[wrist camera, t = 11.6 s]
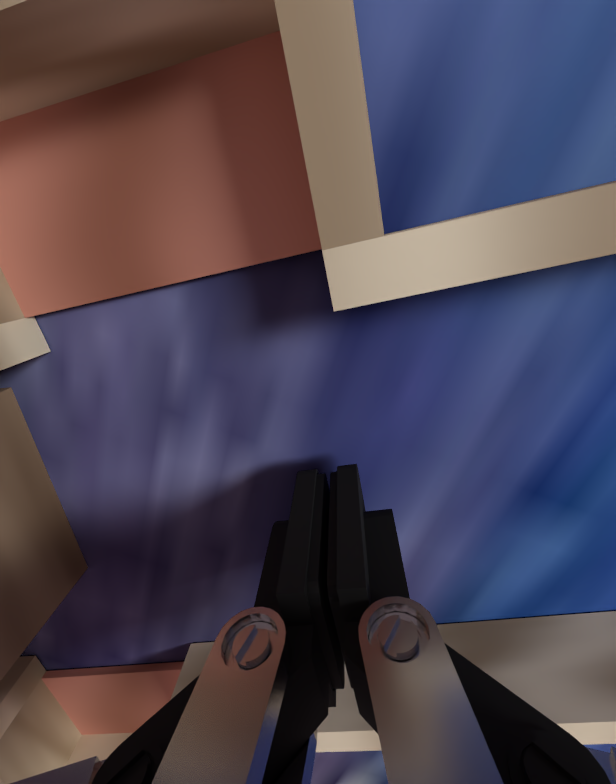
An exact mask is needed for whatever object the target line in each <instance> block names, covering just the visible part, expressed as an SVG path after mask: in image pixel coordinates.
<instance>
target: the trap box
mask: <svg viewBox="0 0 616 784" xmlns="http://www.w3.org/2000/svg"><path fill="white" fill-rule="evenodd" d="M320 249H322V253H323V258H324V263H325V268H326V274H327V279H328V284H329V289H330V294H331V300H332V305H333V310H334V311H339V310H344V309H349V308H354V307H359V306H364V305H368V304H373V303H378V302H383V301H388V300H393V299H398V298H402V297H407V296H412V295H417V294H422V293H427V292H432V291H436V290H441V289H446V288H451V287H456V286H461V285H466V284H470V283H475V282H480V281H485V280H490V279H495V278H500V277H504V276H509V275H514V274H519V273H524V272H529V271H534V270H538V269H543V268H548V267H553V266H558V265H563V264H568V263H572V262H577V261H582V260H587V259H592V258H597V257H602V256H606V255H611V254H616V181H613V182H608V183H604V184H600V185H595V186H591V187H587V188H582V189H578V190H574V191H569V192H565V193H561V194H557V195H552V196H548V197H544V198H539V199H535V200H531V201H526V202H522V203H518V204H514V205H509V206H505V207H501V208H496V209H492V210H488V211H483V212H479V213H475V214H470V215H466V216H462V217H458V218H453V219H449V220H445V221H440V222H436V223H432V224H427V225H423V226H419V227H414V228H410V229H406V230H402V231H397V232H393V233H389V234H384V230H383V223H382V215H381V208H380V200H379V193H378V185H377V178H376V170H375V163H374V155H373V148H372V140H371V133H370V126H369V118H368V111H367V103H366V96H365V88H364V81H363V73H362V66H361V58H360V51H359V43H358V36H357V28H356V21H355V13H354V6H353V0H0V371H1V370H3V369H6V368H9V367H11V366H14V365H16V364H19V363H22V362H24V361H27V360H30V359H32V358H35V357H37V356H40V355H43V354H45V353H48V352H51V351H50V349H49V347H48V344H47V342H46V340H45V338H44V336H43V334H42V332H41V330H40V328H39V326H38V324H37V321H36V319H35V317H34V316H36V315H40V314H45V313H49V312H53V311H57V310H62V309H66V308H70V307H75V306H79V305H83V304H88V303H92V302H96V301H101V300H105V299H109V298H113V297H118V296H122V295H126V294H131V293H135V292H139V291H144V290H148V289H152V288H157V287H161V286H165V285H169V284H174V283H178V282H182V281H187V280H191V279H195V278H200V277H204V276H208V275H213V274H217V273H221V272H225V271H230V270H234V269H238V268H243V267H247V266H251V265H256V264H260V263H264V262H269V261H273V260H277V259H281V258H286V257H290V256H294V255H299V254H303V253H307V252H312V251H316V250H320ZM437 627H438V629H439V632H440V634H441V636H442V639H443V641H444V643H446V644H447V645H448V646H450V647H451V648H452V649H454V650H455V651H457V652H458V653H459V654H461V655H462V656H463V657H465V658H466V659H468V660H469V661H470V662H472V663H473V664H474V665H476V666H477V667H479V668H480V669H481V670H483V671H484V672H485V673H487V674H488V675H490V676H491V677H492V678H494V679H495V680H496V681H498V682H499V683H501V684H502V685H503V686H505V687H506V688H508V689H509V690H510V691H512V692H513V693H514V694H516V695H517V696H519V697H520V698H521V699H523V700H524V701H525V702H527V703H528V704H530V705H531V706H532V707H534V708H535V709H536V710H538V711H539V712H541V713H542V714H543V715H545V716H546V717H547V718H549V719H550V720H552V721H553V722H554V723H556V724H557V725H558V726H560V727H561V728H563V729H564V730H565V731H567V732H568V733H570V734H571V735H572V736H573V737H574V738H576V739H577V740H578V741H579V742H580V743H581V744H616V611H609V612H596V613H583V614H570V615H557V616H544V617H531V618H518V619H505V620H492V621H479V622H466V623H453V624H440V625H437ZM213 645H214V642H206V643H192V644H190V647H189V650H188V653H187V655H186V658H185V661H184V662H170V663H156V664H142V665H127V666H113V667H98V668H84V669H69V670H55V671H46V670H45V668H44V667H43V666H42V664H41V663H40V661H39V660H38V659H37V657H36V656H23V657H19V658H18V659H17V660H16V662H15V663H14V664H13V666H12V667H11V668H10V669H9V671H8V672H7V673H6V675H5V676H4V677H3V679H2V680H1V681H0V784H10V783H13V782H16V781H19V780H22V779H26V778H29V777H32V776H35V775H38V774H41V773H44V772H47V771H51V770H54V769H57V768H60V767H63V766H66V765H69V764H73V763H76V762H79V761H82V760H85V759H88V758H91V757H94V756H97V757H98V758H99V760H100V761H102V760H105V759H107V757H108V756H109V755H110V754H111V753H112V752H113V751H114V750H115V749H116V748H117V747H118V746H119V745H120V744H121V743H122V742H123V741H125V740H126V739H127V738H128V737H129V736H130V735H131V734H132V733H134V732H135V731H136V730H137V729H138V728H139V727H140V726H142V725H143V724H144V723H145V722H146V721H147V720H148V719H150V718H151V717H152V716H153V715H154V714H155V713H156V712H158V711H159V710H160V709H161V708H162V707H163V706H164V705H166V704H167V703H168V702H169V701H170V700H171V699H172V698H173V697H175V696H176V695H177V694H178V693H179V692H180V691H181V690H183V689H184V688H185V687H186V686H187V685H188V684H189V683H191V682H192V681H193V680H194V679H195V678H196V677H197V676H199V675H200V674H201V672H202V669H203V667H204V665H205V663H206V660H207V658H208V656H209V654H210V651H211V649H212V647H213ZM344 670H345V685H344V689H336V707H328V716H327V717H326V718H325V720H324V721H323V722H322V723H321V724H320V726H319V727H318V728H317V746H316V752H340V751H374V750H382V749H381V744H380V740H379V735H378V734H377V733H376V731H375V730H374V729H373V728H372V727H371V726H370V725H369V724H368V723H367V722H366V721H365V719H364V718H363V717H362V716H361V715H360V714H359V710H358V706H357V702H356V698H355V694H354V690H353V688H351V686H350V682H349V678H348V674H347V670H346V666H345V662H344Z"/></svg>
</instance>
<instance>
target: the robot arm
mask: <svg viewBox="0 0 616 784" xmlns="http://www.w3.org/2000/svg"><path fill="white" fill-rule="evenodd" d="M344 662H345V666H346V670H347V674H348V678H349V682H350V686H351V688H353V690H354V694H355V698H356V702H357V706H358V710H359V714H360V715H361V716H362V717H363V718H364V719H365V721H366V722H367V723H368V724H369V725H370V726H371V727H372V728H373V729H374V730H375V731H376V733H377V734H378V735H379V740H380V744H381V749H382V754H383V759H384V764H385V769H386V774H387V779H388V784H616V748H615V747H611V752H610V753H608V752H604V751H599V750H595V749H591V748H587V747H585V746H583V745H582V744H581V743H580V742H579V741H578V740H577V739H576V738H574V737H573V736H572V735H571V734H570V733H568V732H567V731H565V730H564V729H563V728H561V727H560V726H558V725H557V724H556V723H554V722H553V721H552V720H550V719H549V718H547V717H546V716H545V715H543V714H542V713H541V712H539V711H538V710H536V709H535V708H534V707H532V706H531V705H530V704H528V703H527V702H525V701H524V700H523V699H521V698H520V697H519V696H517V695H516V694H514V693H513V692H512V691H510V690H509V689H508V688H506V687H505V686H503V685H502V684H501V683H499V682H498V681H496V680H495V679H494V678H492V677H491V676H490V675H488V674H487V673H485V672H484V671H483V670H481V669H480V668H479V667H477V666H476V665H474V664H473V663H472V662H470V661H469V660H468V659H466V658H465V657H463V656H462V655H461V654H459V653H458V652H457V651H455V650H454V649H452V648H451V647H450V646H448V645H447V644H446V643H444V641H443V639H442V636H441V634H440V632H439V629H438V627H437V624H436V622H435V621H434V619H433V617H432V616H431V614H430V612H429V611H427V610H426V609H425V608H424V607H423V606H422V605H421V604H419V603H417V602H415V601H413V600H411V599H410V598H409V593H408V587H407V582H406V577H405V572H404V567H403V562H402V557H401V552H400V547H399V542H398V537H397V532H396V527H395V522H394V517H393V512H392V509H386V510H377V511H368V512H366V511H365V506H364V500H363V495H362V489H361V484H360V478H359V473H358V467H357V464H352V465H344V466H338V467H337V472H331V474H330V491H329V486H328V482H327V477H326V474H325V473H323V474H319V472H318V470H317V469H313V470H305V471H298V473H297V478H296V483H295V489H294V495H293V500H292V506H291V512H290V517H289V520H286V521H277V522H275V523H274V524H273V527H272V531H271V536H270V540H269V544H268V549H267V553H266V557H265V562H264V566H263V570H262V575H261V579H260V583H259V588H258V592H257V596H256V601H255V605H254V607H252V608H249V609H246V610H243V611H241V612H240V613H238V614H236V615H235V616H233V617H232V618H231V619H230V620H229V621H228V622H227V623H226V624H225V625H224V626H223V628H222V629H221V631H220V633H219V634H218V636H217V638H216V640H215V642H214V645H213V647H212V649H211V651H210V654H209V656H208V658H207V660H206V663H205V665H204V667H203V669H202V672H201V674H200V675H199V676H197V677H196V678H195V679H194V680H193V681H192V682H191V683H189V684H188V685H187V686H186V687H185V688H184V689H183V690H181V691H180V692H179V693H178V694H177V695H176V696H175V697H173V698H172V699H171V700H170V701H169V702H168V703H167V704H166V705H164V706H163V707H162V708H161V709H160V710H159V711H158V712H156V713H155V714H154V715H153V716H152V717H151V718H150V719H148V720H147V721H146V722H145V723H144V724H143V725H142V726H140V727H139V728H138V729H137V730H136V731H135V732H134V733H132V734H131V735H130V736H129V737H128V738H127V739H126V740H125V741H123V742H122V743H121V744H120V745H119V746H118V747H117V748H116V749H115V750H114V751H113V752H112V753H111V754H110V755H109V756H108V757H107V759H105V760H102V761H100V760H99V758H98V757H97V756H94V757H91V758H88V759H85V760H82V761H79V762H76V763H73V764H69V765H66V766H63V767H60V768H57V769H54V770H51V771H47V772H44V773H41V774H38V775H35V776H32V777H29V778H26V779H22V780H19V781H16V782H13V783H10V784H310V783H311V777H312V771H313V765H314V758H315V752H316V746H317V728H318V727H319V726H320V724H321V723H322V722H323V721H324V720H325V718H326V717H327V716H328V707H336V689H344V685H345V670H344Z"/></svg>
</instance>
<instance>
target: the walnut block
mask: <svg viewBox="0 0 616 784" xmlns="http://www.w3.org/2000/svg"><path fill="white" fill-rule="evenodd" d="M87 568H88V566H87V564H86V562H85V559H84V557H83V555H82V552H81V550H80V548H79V545H78V543H77V541H76V538H75V536H74V534H73V531H72V529H71V526H70V524H69V522H68V519H67V517H66V515H65V512H64V510H63V508H62V505H61V503H60V501H59V498H58V496H57V494H56V491H55V489H54V487H53V484H52V482H51V480H50V477H49V475H48V473H47V470H46V468H45V466H44V463H43V461H42V459H41V456H40V454H39V452H38V449H37V447H36V445H35V442H34V440H33V438H32V435H31V433H30V431H29V428H28V426H27V424H26V421H25V419H24V417H23V414H22V412H21V410H20V407H19V405H18V403H17V400H16V398H15V396H14V393H13V391H12V389H11V388H0V681H1V680H2V679H3V677H4V676H5V675H6V673H7V672H8V671H9V669H10V668H11V667H12V666H13V664H14V663H15V662H16V660H17V659H18V658H19V657H20V655H21V654H22V653H23V651H24V650H25V649H26V647H27V646H28V645H29V644H30V642H31V641H32V640H33V638H34V637H35V636H36V634H37V633H38V632H39V631H40V629H41V628H42V627H43V625H44V624H45V623H46V622H47V620H48V619H49V618H50V616H51V615H52V614H53V612H54V611H55V610H56V609H57V607H58V606H59V605H60V603H61V602H62V601H63V599H64V598H65V597H66V596H67V594H68V593H69V592H70V590H71V589H72V588H73V587H74V585H75V584H76V583H77V581H78V580H79V579H80V577H81V576H82V575H83V574H84V572H85V571H86V570H87Z"/></svg>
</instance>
